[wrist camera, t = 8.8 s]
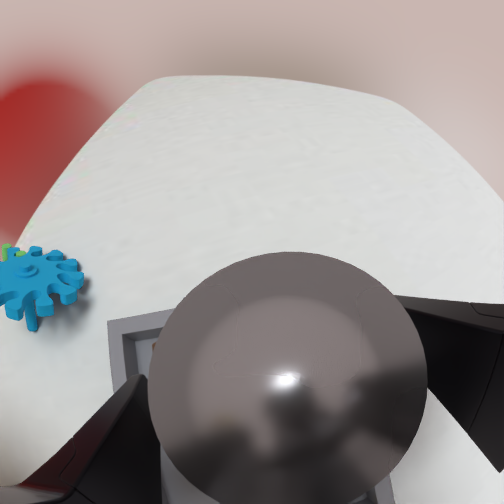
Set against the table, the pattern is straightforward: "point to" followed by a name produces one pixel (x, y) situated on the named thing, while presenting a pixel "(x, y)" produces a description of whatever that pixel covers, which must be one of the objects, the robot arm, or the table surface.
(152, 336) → the tray
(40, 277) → the gear
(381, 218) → the table surface
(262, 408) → the sleeve
